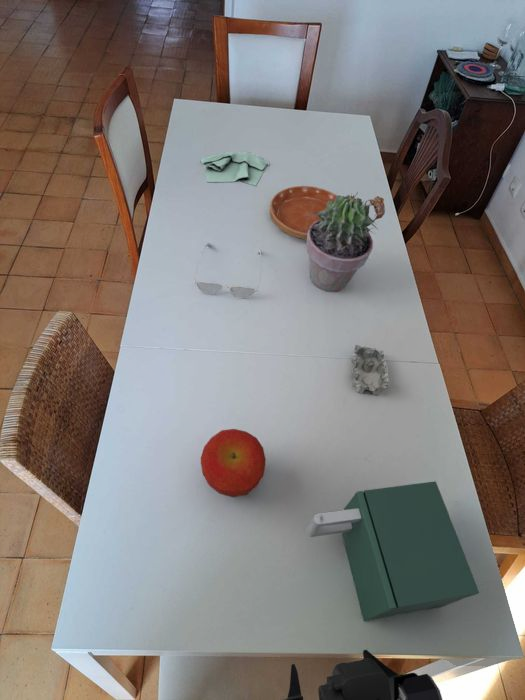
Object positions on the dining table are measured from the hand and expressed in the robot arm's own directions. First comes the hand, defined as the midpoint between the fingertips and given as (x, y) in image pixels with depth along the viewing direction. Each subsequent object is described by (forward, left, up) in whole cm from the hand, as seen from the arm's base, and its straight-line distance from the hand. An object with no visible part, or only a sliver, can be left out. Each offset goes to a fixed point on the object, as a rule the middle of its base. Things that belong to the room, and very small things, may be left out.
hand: (329, 659), depth 56 cm
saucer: (+103, -23, -14) cm, 107 cm away
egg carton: (+49, -24, -14) cm, 56 cm away
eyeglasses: (+83, +2, -14) cm, 84 cm away
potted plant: (+79, -22, -14) cm, 83 cm away
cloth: (+129, -4, -14) cm, 130 cm away
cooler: (+12, -17, -14) cm, 25 cm away
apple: (+29, +8, -14) cm, 33 cm away
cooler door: (+12, -7, -13) cm, 19 cm away
